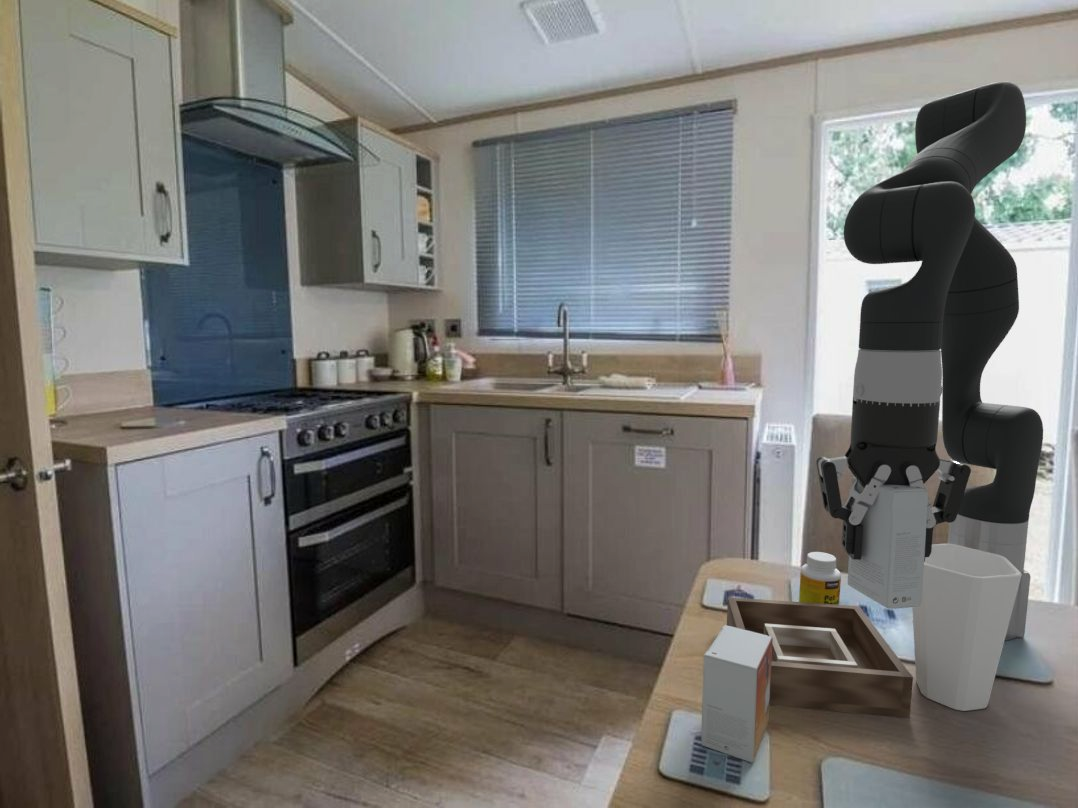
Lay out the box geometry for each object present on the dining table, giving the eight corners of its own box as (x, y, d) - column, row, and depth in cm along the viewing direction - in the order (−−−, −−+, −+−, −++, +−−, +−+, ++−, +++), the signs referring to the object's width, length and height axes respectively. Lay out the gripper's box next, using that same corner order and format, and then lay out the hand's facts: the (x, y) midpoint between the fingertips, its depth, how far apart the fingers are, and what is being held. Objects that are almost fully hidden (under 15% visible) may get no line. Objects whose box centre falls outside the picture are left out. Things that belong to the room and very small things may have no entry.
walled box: (857, 639, 88) (859, 606, 88) (909, 718, 71) (913, 677, 70) (726, 629, 91) (727, 597, 91) (746, 702, 74) (747, 663, 73)
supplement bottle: (824, 633, 90) (828, 566, 89) (790, 618, 94) (793, 554, 93) (845, 623, 93) (849, 558, 92) (811, 609, 98) (815, 546, 96)
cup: (1018, 730, 68) (1033, 584, 66) (913, 711, 72) (924, 571, 70) (985, 676, 79) (997, 548, 76) (894, 662, 82) (904, 538, 80)
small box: (753, 765, 63) (757, 669, 62) (699, 746, 66) (702, 654, 65) (770, 722, 70) (774, 635, 69) (720, 706, 73) (723, 622, 72)
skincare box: (923, 607, 62) (935, 488, 60) (884, 610, 61) (895, 491, 59) (878, 581, 67) (887, 473, 66) (842, 584, 67) (850, 475, 65)
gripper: (956, 391, 64) (943, 548, 66) (809, 390, 66) (801, 542, 68) (996, 401, 56) (981, 577, 59) (829, 399, 59) (820, 569, 61)
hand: (884, 557), depth 63 cm, fingers closed on skincare box, 5 cm apart
